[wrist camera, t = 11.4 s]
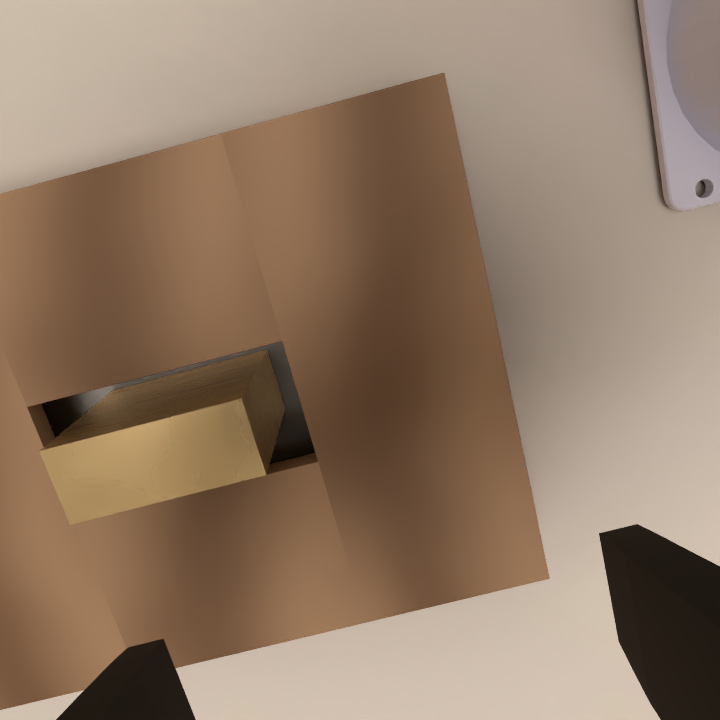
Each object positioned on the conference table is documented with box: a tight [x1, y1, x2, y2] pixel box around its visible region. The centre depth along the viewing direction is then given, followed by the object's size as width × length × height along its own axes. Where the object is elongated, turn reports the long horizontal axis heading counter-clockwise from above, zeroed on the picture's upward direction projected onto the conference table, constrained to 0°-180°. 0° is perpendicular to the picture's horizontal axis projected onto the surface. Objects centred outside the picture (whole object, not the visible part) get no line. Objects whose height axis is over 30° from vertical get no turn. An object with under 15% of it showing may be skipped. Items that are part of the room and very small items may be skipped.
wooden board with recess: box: [0, 73, 549, 710], centre depth 18 cm, size 18×14×3 cm
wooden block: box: [39, 350, 285, 525], centre depth 18 cm, size 5×2×5 cm, turn 104°
